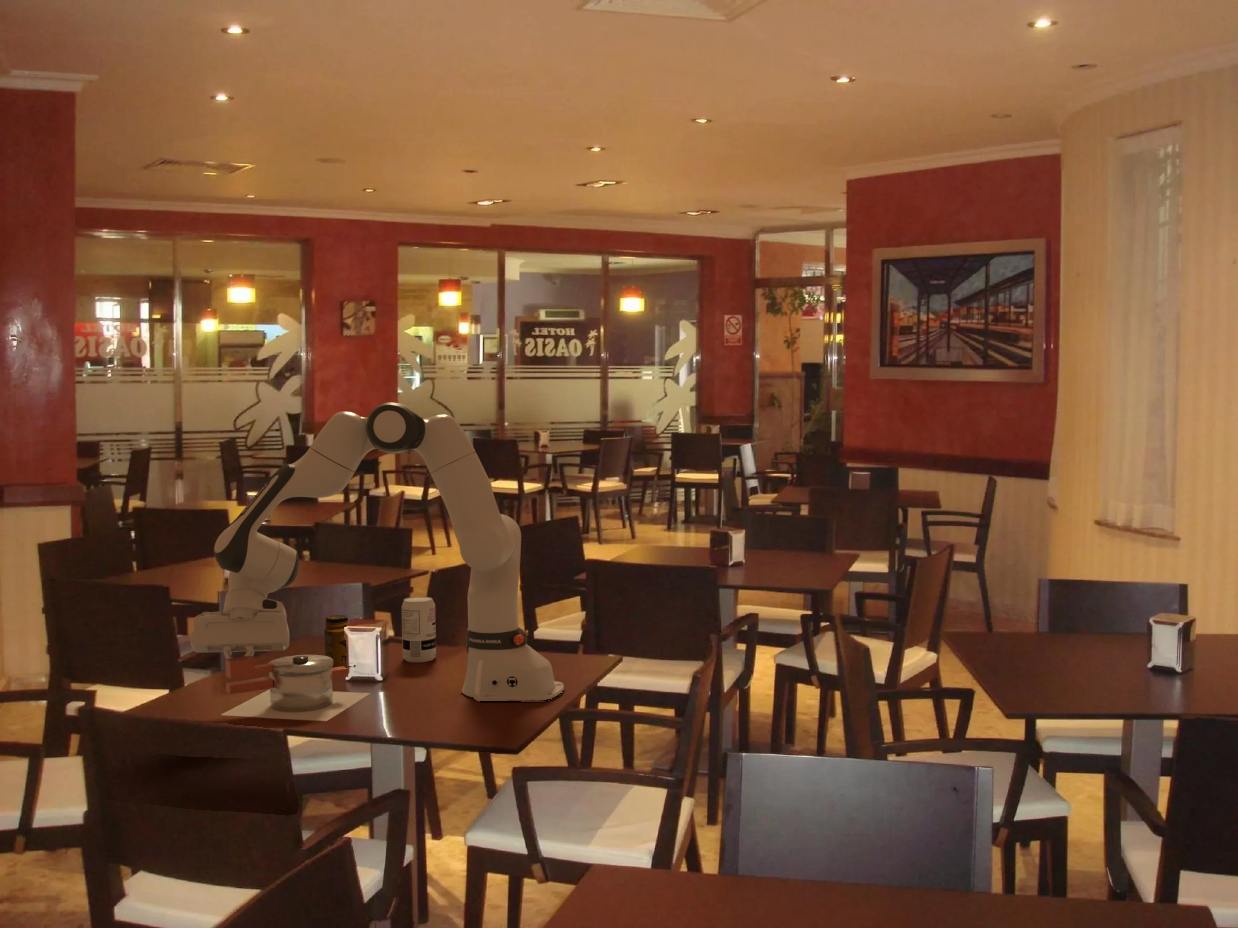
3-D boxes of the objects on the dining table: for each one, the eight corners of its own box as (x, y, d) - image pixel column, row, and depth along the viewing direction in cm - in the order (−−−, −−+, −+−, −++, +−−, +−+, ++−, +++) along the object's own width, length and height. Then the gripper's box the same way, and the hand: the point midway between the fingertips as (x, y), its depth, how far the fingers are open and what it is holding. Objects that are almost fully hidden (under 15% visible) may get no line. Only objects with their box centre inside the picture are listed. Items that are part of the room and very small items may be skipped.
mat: (370, 694, 282) (370, 693, 282) (326, 722, 261) (326, 720, 261) (271, 689, 287) (271, 688, 287) (220, 716, 266) (220, 714, 266)
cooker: (352, 696, 280) (351, 660, 279) (311, 721, 260) (310, 682, 260) (269, 691, 284) (267, 656, 284) (222, 716, 265) (220, 678, 264)
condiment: (356, 666, 309) (355, 617, 308) (323, 671, 305) (321, 621, 304) (345, 660, 315) (344, 612, 314) (312, 665, 311) (310, 616, 310)
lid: (318, 656, 283) (318, 639, 282) (343, 667, 272) (342, 651, 271) (217, 671, 270) (217, 654, 269) (239, 684, 259) (238, 666, 258)
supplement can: (400, 656, 318) (399, 597, 317) (433, 654, 321) (432, 595, 320) (405, 664, 311) (403, 603, 309) (438, 661, 313) (437, 601, 312)
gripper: (192, 604, 274) (182, 660, 265) (289, 602, 275) (282, 658, 267) (198, 620, 279) (188, 675, 270) (293, 618, 280) (287, 673, 271)
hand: (236, 667), depth 268 cm, fingers closed
